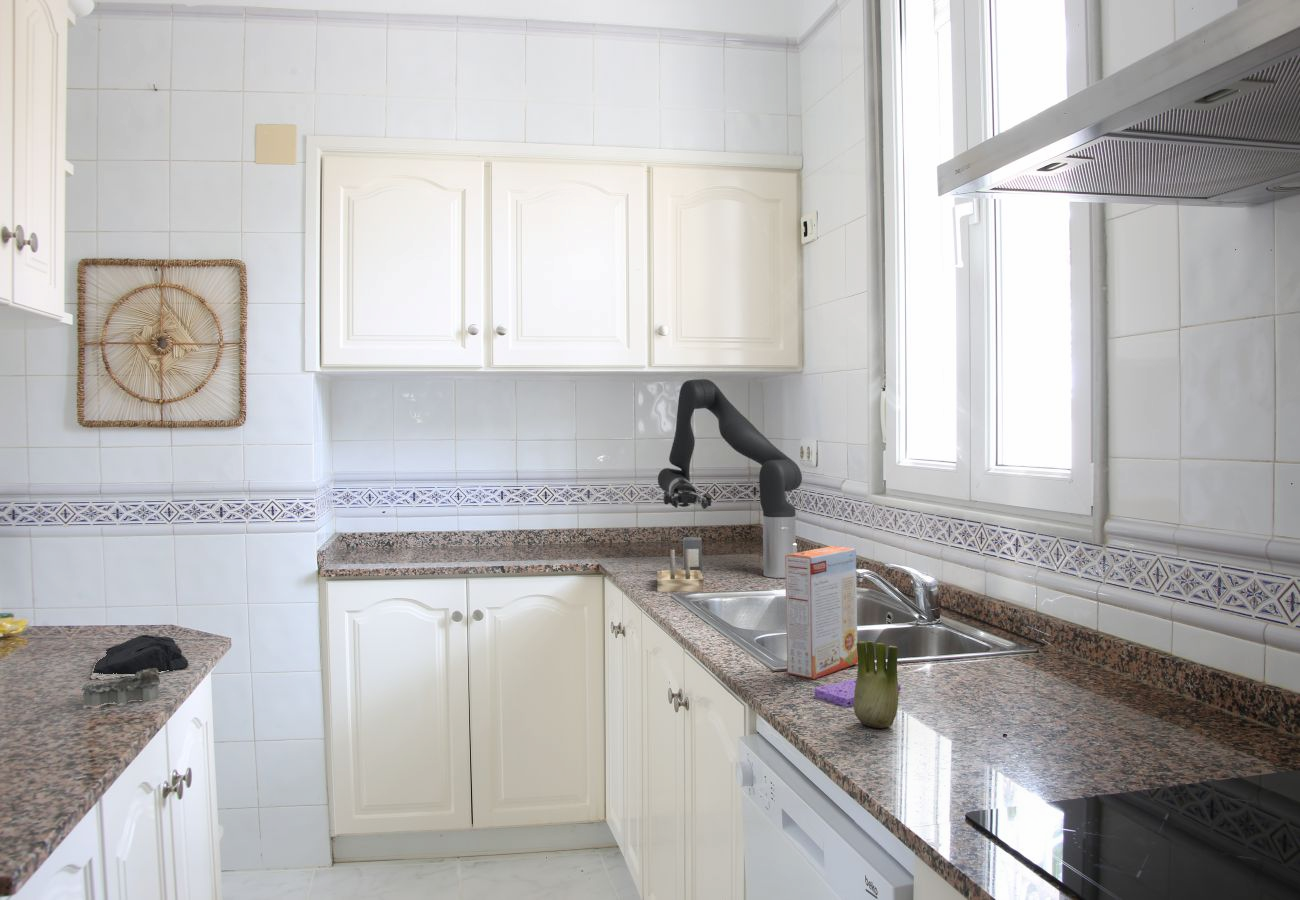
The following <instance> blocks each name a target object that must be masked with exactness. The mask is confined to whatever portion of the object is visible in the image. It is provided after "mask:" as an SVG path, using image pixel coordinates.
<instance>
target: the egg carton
mask: <svg viewBox="0 0 1300 900" xmlns="http://www.w3.org/2000/svg"><path fill="white" fill-rule="evenodd" d="M161 683H162V682H161V679H160V677H159V674H158V669H157V668H152V669H151V668H149V669H147V670H142V671H139V672H137V673H136V674H135V676H125V678H118V679H110V680H109V681H108V680H106V681H103V682H100V683H97V684H95V685H94V683H84V684H83V686H82V688H81V691H83V690H84V692H83V694H82V701H83V704H84V705H92V706H97V705H98V706H99V705H101V704H104V703H110V702H111V703H113V702H115V703H117V704H120V703H126V702H128V701H130V700H142V701H149V702H151V701H153V700H157V699H159V698H160V694H159V692H160V691H159V686H160V684H161ZM152 699H153V700H152Z"/></svg>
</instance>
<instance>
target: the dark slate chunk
mask: <svg viewBox="0 0 1300 900" xmlns="http://www.w3.org/2000/svg"><path fill="white" fill-rule="evenodd" d="M105 650H106V651H107V652H106V654H107V655H106V656H105V657H103V658H102V659H100V660H99V661H98V662H97V663H96V665H95V668H94V671H93V673H99V674H100V673H101V674H102V673H103V674H113V673H114V674H116V673H117V674H136V673H137V672H139V671H142V670H147V669H149V668H151V669H152V668H157V669H158V672H161V671H167V670H169V671H171V672H174V671H173V670H175V671H178V670H177V669H180V670H185V669H187V668H189V663H188V662H189V660H188V659H187V658H186V657H185V656H184V654H182V652H183V651H182V650H181V648H180V647H179V645H177V644H176V641H175V639H173V638H172V637H169V636H159V635H149V634H142V635H138V636H136V637H133V638H130V639H128V640H126V641H124V642H122V643H120V644H116V645H114V646H111V647H109V648H106V649H105Z"/></svg>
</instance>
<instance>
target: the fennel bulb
mask: <svg viewBox="0 0 1300 900" xmlns="http://www.w3.org/2000/svg"><path fill="white" fill-rule="evenodd" d="M886 648H887V647H886V643H882V642H877V643H875V646H874V641H868V640H867V641H857V654H858V655H857V658H858V663H857V672H856V673H857V674H856V679H857V680H856V685H855V693H854V705H853V712H854V715H855V717H856V718H857V720H858V721H859V722H860V723H861V724H863V725H865V726H868V727H871V728H875V729H882V728H883V729H884V728H889V727H892V726H893V723H894V720H895V718H896V716H897V713H898V712H897V711H898V706H899V693H898V685H899V681H898V655H899V654H898V653H899V652H898V651H899V647H898V646H895V645H889V646H888V649H886ZM887 650H888V651H887ZM887 652H888V653H887ZM886 653H887V654H886ZM875 659H876V661H875Z"/></svg>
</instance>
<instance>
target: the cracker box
mask: <svg viewBox="0 0 1300 900" xmlns="http://www.w3.org/2000/svg"><path fill="white" fill-rule="evenodd" d="M784 580H785V610H786V611H785V615H786V618H785V620H786V621H785V622H786V625H785V626H786V630H785V631H786V664H787V666H786V670H787V671H786V672H787V674H788V675H792V676H797V677H801V678H806V679H811V680H815V679H818V678H821V677H823V676H826V675H829V674H832V673H834V672H837V671H840V670H843V669H846V668H848V667H851V666H854V665H858V654H857V642H858V607H857V606H858V605H857V604H858V602H857V601H858V600H857V548H852V547H842V546H837V545H836V546H834V545H832V546H826V547H825V546H824V547H821V548H814V549H810V550H805V551H799V552H798V551H797V553H792V554H787V555H785V579H784Z"/></svg>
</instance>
